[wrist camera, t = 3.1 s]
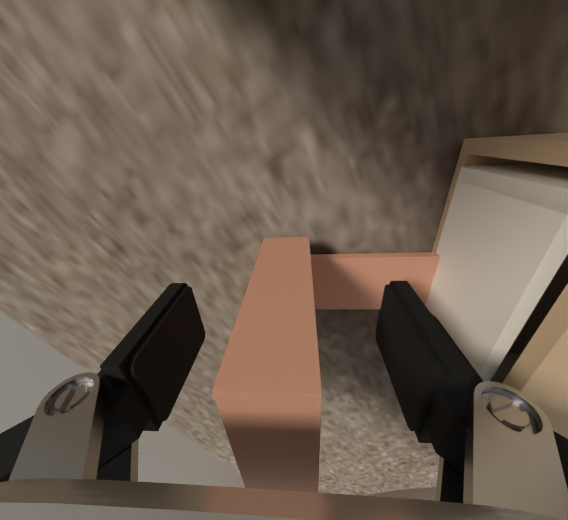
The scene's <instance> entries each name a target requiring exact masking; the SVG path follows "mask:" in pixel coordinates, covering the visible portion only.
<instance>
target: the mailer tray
mask: <svg viewBox="0 0 568 520" xmlns="http://www.w3.org/2000/svg"><path fill="white" fill-rule="evenodd" d="M390 281H408V282H409V284H410V285H411V287H412V288H413V289H414V291H415V292H416V293H417V295H418V296H419V298H420V299H421V300H422V302H423V303H424V304H425V306H426V307H427V309H428V310H429V311H430V313H431V314H432V315H434V316H435V317H436V318H437V319H438V320H439V321H440V323H441V324H442V326H443V327H444V328H445V330H446V331H447V332H448V334H449V335H450V336H451V338H452V339H453V340H454V342H455V343H456V345H457V346H458V347H459V349H460V350H461V351H462V353H463V354H464V355H465V357H466V358H467V359H468V361H469V362H470V364H471V365H472V366H473V368H474V369H475V370H476V372H477V373H478V374H479V376H480V377H481V378H482V380H483V381H484V382H486V381H491V382H498V383H503V381H504V380H505V378H506V377H507V375H508V374H509V372H510V371H511V369H512V367H513V366H514V364H515V363H516V361H517V360H518V358H519V357H520V355H521V354H522V352H523V351H524V349H525V348H526V346H527V345H528V343H529V342H530V340H531V339H532V337H533V335H534V334H535V332H536V331H537V329H538V328H539V326H540V325H541V323H542V322H543V320H544V319H545V317H546V316H547V314H548V313H549V311H550V310H551V308H552V307H553V305H554V303H555V302H556V300H557V299H558V297H559V296H560V294H561V293H562V291H563V290H564V288H565V287H566V285H567V284H568V167H566V166H558V165H550V164H542V163H527V164H506V165H486V166H465V167H461V169H460V172H459V176H458V179H457V183H456V186H455V189H454V193H453V196H452V199H451V203H450V206H449V210H448V213H447V216H446V220H445V223H444V226H443V230H442V233H441V237H440V240H439V243H438V247H437V250H436V252H416V253H366V254H317V255H310V243H309V237H282V238H264V240H263V243H262V246H261V249H260V252H259V255H258V258H257V261H256V264H255V267H254V270H253V272H252V275H251V278H250V281H249V284H248V287H247V290H246V293H245V296H244V299H243V302H242V305H241V308H240V310H239V313H238V316H237V319H236V322H235V325H234V328H233V331H232V334H231V337H230V340H229V343H228V346H227V348H226V351H225V354H224V357H223V360H222V363H221V366H220V369H219V372H218V375H217V378H216V381H215V384H214V386H213V389H212V392H213V395H214V398H215V401H216V404H217V407H218V410H219V413H220V415H221V418H222V421H223V424H224V427H225V430H226V433H227V436H228V439H229V441H230V444H231V447H232V450H233V453H234V456H235V459H236V462H237V465H238V467H239V470H240V473H241V476H242V479H243V482H244V485H245V488H253V489H269V490H284V491H300V492H316V493H318V476H319V451H320V426H321V401H322V391H321V378H320V366H319V354H318V341H317V329H316V317H315V309H380V308H381V303H382V298H383V293H384V287H385V285H386V284H389V283H390Z"/></svg>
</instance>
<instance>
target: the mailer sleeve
mask: <svg viewBox="0 0 568 520" xmlns="http://www.w3.org/2000/svg"><path fill="white" fill-rule="evenodd" d="M527 163H542V164H550V165H558V166H566V167H568V133H552V134H535V135H518V136H501V137H484V138H466V139H464V141H463V144H462V148H461V151H460V155H459V158H458V162H457V165H456V169H455V172H454V176H453V179H452V183H451V186H450V190H449V193H448V197H447V200H446V204H445V207H444V211H443V214H442V218H441V221H440V225H439V228H438V232H437V235H436V239H435V242H434V246H433V249H432V252H436V250H437V247H438V243H439V240H440V237H441V233H442V230H443V226H444V223H445V220H446V216H447V213H448V210H449V206H450V203H451V199H452V196H453V193H454V189H455V186H456V183H457V179H458V176H459V172H460V169H461V167H465V166H486V165H506V164H527ZM502 384H505V385H508V386H510V387H512V388H514V389H516V390H518V391H520V392H521V393H523V394H524V395H526V396H527V397H529V398H530V399H531V400H532V401H533V402H535V403H536V404H537V405H538V406H539V407H540V408H541V409H542V411H543V412H544V413H545V414H546V416H547V417H548V419H549V421H550V423H551V426H552V429H553V431H555V432H556V433H558V434H560V435H562V436H563V437H565V438H567V439H568V284H567V285H566V287H565V288H564V290H563V291H562V293H561V294H560V296H559V297H558V299H557V300H556V302H555V303H554V305H553V307H552V308H551V310H550V311H549V313H548V314H547V316H546V317H545V319H544V320H543V322H542V323H541V325H540V326H539V328H538V329H537V331H536V332H535V334H534V335H533V337H532V339H531V340H530V342H529V343H528V345H527V346H526V348H525V349H524V351H523V352H522V354H521V355H520V357H519V358H518V360H517V361H516V363H515V364H514V366H513V367H512V369H511V371H510V372H509V374H508V375H507V377H506V378H505V380H504V381H503V383H502Z"/></svg>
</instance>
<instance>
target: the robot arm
mask: <svg viewBox="0 0 568 520" xmlns="http://www.w3.org/2000/svg"><path fill="white" fill-rule="evenodd" d="M204 339H205V330H204V327H203V324H202V320H201V317H200V314H199V311H198V307H197V304H196V301H195V298H194V294H193V291H192V288H191V287H189V286H188V285H187V284H186V283H172V284H170V285H169V286H168V287H167V288H166V290H165V291H164V292H163V293H162V294H161V295H160V297H159V298H158V299H157V300H156V301H155V302H154V304H153V305H152V306H151V307H150V308H149V309H148V311H147V312H146V313H145V314H144V315H143V316H142V318H141V319H140V320H139V321H138V322H137V323H136V325H135V326H134V327H133V328H132V329H131V330H130V332H129V333H128V334H127V335H126V336H125V337H124V339H123V340H122V341H121V342H120V343H119V344H118V346H117V347H116V348H115V349H114V350H113V351H112V353H111V354H110V355H109V356H108V357H107V358H106V360H105V361H104V362H103V363H102V364H101V365H100V368H101V369H102V370H101V371H100V372H99V373H98V374H95V373H92V372H89V373H82V374H78V375H75V376H73V377H71V378H69V379H66V380H65V381H63V382H62V383H60V384H59V385H57V386H56V387H55V388H54V389H52V390H51V391H50V392H49V393H48V394H47V395H46V396H45V397H44V399H43V400H42V401H41V403H40V405H39V406H38V408H37V410H36V413H35V415H34V416H32V417H30V418H28V419H27V420H25V421H23V422H21V423H19V424H17V425H15V426H14V427H12V428H10V429H8V430H6V431H5V432H3V433H1V434H0V520H568V439H567V438H565V437H563V436H562V435H560V434H558V433H556V432H555V431H553V429H552V426H551V423H550V421H549V419H548V417H547V416H546V414H545V413H544V412H543V411H542V409H541V408H540V407H539V406H538V405H537V404H536V403H535V402H533V401H532V400H531V399H530V398H529V397H527V396H526V395H524V394H523V393H521V392H520V391H518V390H516V389H514V388H512V387H510V386H508V385H505V384H502V383H498V382H491V381H486V382H484V381H483V380H482V378H481V377H480V376H479V374H478V373H477V372H476V370H475V369H474V368H473V366H472V365H471V364H470V362H469V361H468V359H467V358H466V357H465V355H464V354H463V353H462V351H461V350H460V349H459V347H458V346H457V345H456V343H455V342H454V340H453V339H452V338H451V336H450V335H449V334H448V332H447V331H446V330H445V328H444V327H443V326H442V324H441V323H440V321H439V320H438V319H437V318H436V317H435V316H434V315H432V314H431V313H430V311H429V310H428V309H427V307H426V306H425V304H424V303H423V302H422V300H421V299H420V298H419V296H418V295H417V293H416V292H415V291H414V289H413V288H412V287H411V285H410V284H409V282H408V281H390V283H389V284H386V285H385V287H384V293H383V298H382V303H381V308H380V314H379V319H378V324H377V329H376V341H377V344H378V346H379V349H380V352H381V355H382V357H383V360H384V363H385V366H386V368H387V371H388V374H389V376H390V379H391V382H392V385H393V387H394V390H395V393H396V396H397V398H398V401H399V404H400V406H401V409H402V412H403V415H404V417H405V420H406V423H407V425H408V428H409V429H410V430H411V431H415V433H416V436H417V439H418V441H419V443H432V445H433V447H434V449H435V452H436V453H437V454H438V455H440V459H439V468H438V477H437V487H436V496H435V501H430V500H419V499H404V498H390V497H389V498H388V497H375V496H360V495H345V494H331V493H316V492H300V491H284V490H269V489H253V488H236V487H220V486H204V485H203V486H202V485H187V484H169V483H151V482H138V439H139V437H140V435H141V433H142V431H158V430H159V428H160V426H161V424H162V422H163V421H165V420H167V418H168V417H169V415H170V413H171V411H172V408H173V406H174V404H175V402H176V400H177V398H178V395H179V393H180V391H181V389H182V387H183V385H184V383H185V380H186V378H187V376H188V374H189V372H190V370H191V367H192V365H193V363H194V361H195V359H196V357H197V354H198V352H199V350H200V348H201V346H202V344H203V341H204Z"/></svg>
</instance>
